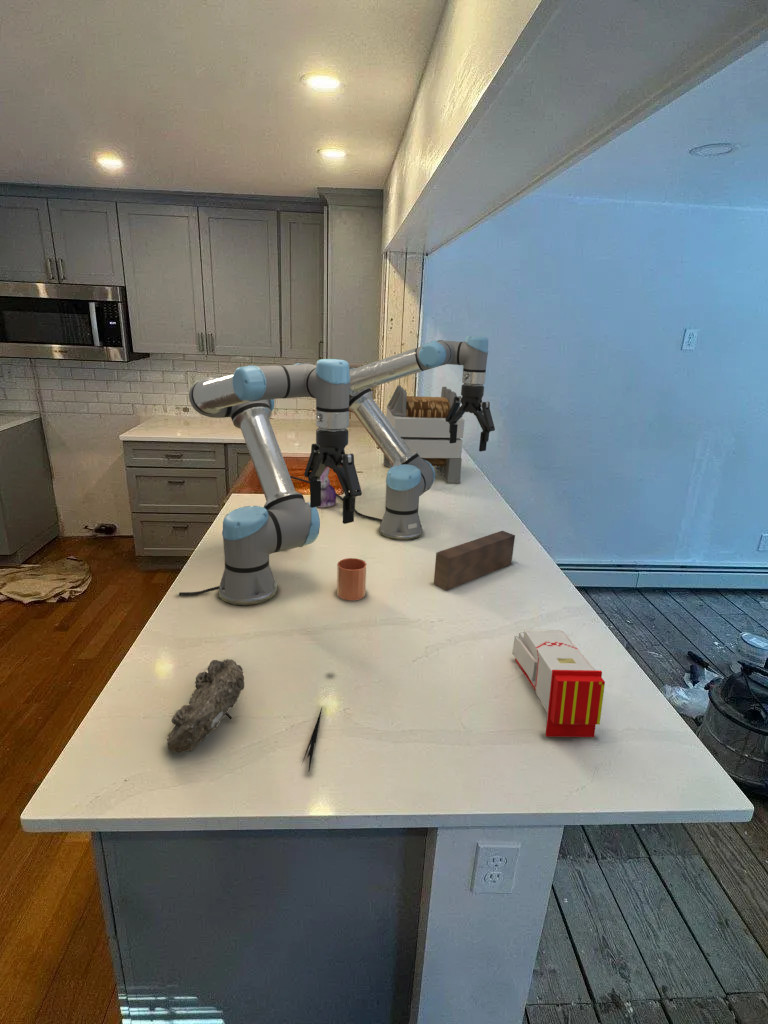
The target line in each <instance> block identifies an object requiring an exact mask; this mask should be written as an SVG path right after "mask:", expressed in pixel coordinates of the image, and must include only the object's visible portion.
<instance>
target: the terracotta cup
mask: <svg viewBox="0 0 768 1024" xmlns="http://www.w3.org/2000/svg"><path fill="white" fill-rule="evenodd" d="M367 566H368V565H367V563H366V561H364V560H363V559H360V558H356V557H355V558H354V557H349V558H344V559H343V558H342V559H340V560H339V561H338V562H337V564H336V567H337V568H336V595H337V597H338V598H340V599H342V600H345V601H358V600H362V599H363V598H365V596H366V592H367V591H366V589H367V588H366V587H367Z"/></svg>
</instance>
